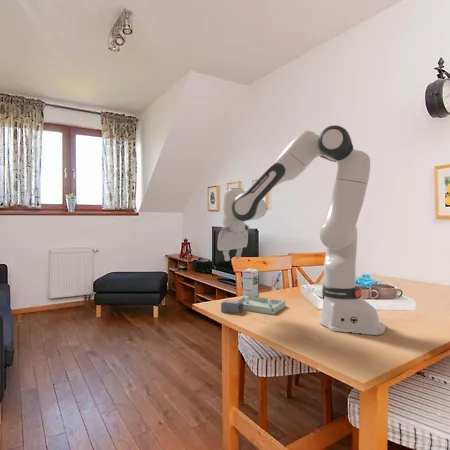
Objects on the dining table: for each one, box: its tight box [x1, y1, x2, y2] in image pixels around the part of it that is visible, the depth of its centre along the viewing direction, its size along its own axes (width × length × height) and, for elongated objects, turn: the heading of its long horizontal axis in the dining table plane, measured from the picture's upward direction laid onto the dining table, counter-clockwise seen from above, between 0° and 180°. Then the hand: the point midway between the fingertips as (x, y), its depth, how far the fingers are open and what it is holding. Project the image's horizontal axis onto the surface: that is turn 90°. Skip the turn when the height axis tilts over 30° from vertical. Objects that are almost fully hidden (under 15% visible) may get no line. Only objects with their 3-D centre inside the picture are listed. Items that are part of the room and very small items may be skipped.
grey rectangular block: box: [220, 299, 244, 315], centre depth 140 cm, size 8×5×4 cm, turn 64°
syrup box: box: [241, 268, 260, 297], centre depth 159 cm, size 6×6×14 cm
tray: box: [234, 296, 286, 315], centre depth 145 cm, size 20×14×4 cm
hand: (232, 259), depth 139 cm, fingers open, 8 cm apart
